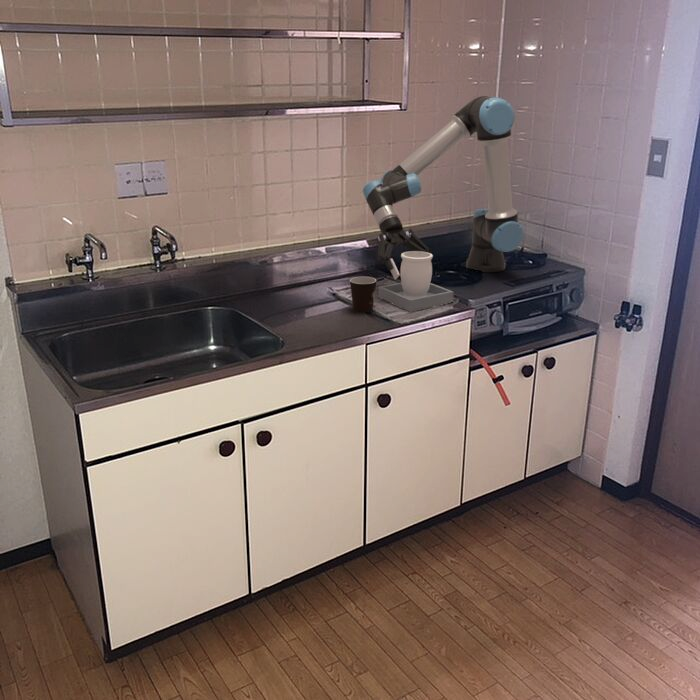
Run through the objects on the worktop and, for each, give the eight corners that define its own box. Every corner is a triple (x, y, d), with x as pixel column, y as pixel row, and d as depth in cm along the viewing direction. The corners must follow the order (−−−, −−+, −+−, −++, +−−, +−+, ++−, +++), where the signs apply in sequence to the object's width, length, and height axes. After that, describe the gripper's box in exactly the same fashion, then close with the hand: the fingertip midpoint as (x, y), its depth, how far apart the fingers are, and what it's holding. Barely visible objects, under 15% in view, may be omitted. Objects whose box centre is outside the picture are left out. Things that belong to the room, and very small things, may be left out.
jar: (435, 295, 262) (436, 252, 257) (425, 303, 254) (426, 259, 248) (405, 291, 266) (407, 249, 261) (395, 299, 258) (396, 256, 252)
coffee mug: (365, 315, 246) (366, 285, 242) (344, 310, 250) (344, 280, 247) (386, 306, 254) (387, 277, 251) (365, 301, 259) (365, 273, 255)
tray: (420, 289, 272) (420, 279, 270) (452, 303, 258) (453, 291, 256) (378, 298, 263) (378, 286, 261) (410, 312, 249) (410, 300, 247)
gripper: (412, 223, 273) (437, 274, 267) (353, 232, 261) (378, 285, 254) (422, 211, 267) (447, 263, 261) (362, 219, 254) (388, 273, 248)
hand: (413, 274), depth 258 cm, fingers open, 13 cm apart
